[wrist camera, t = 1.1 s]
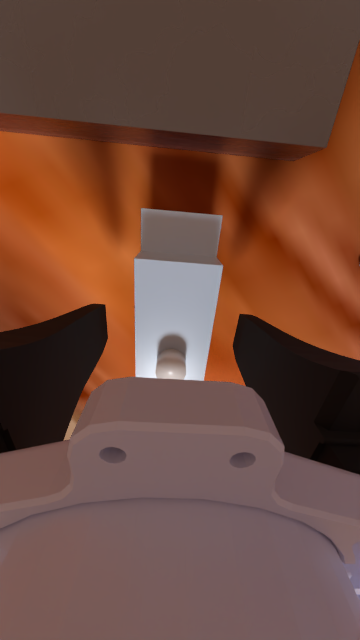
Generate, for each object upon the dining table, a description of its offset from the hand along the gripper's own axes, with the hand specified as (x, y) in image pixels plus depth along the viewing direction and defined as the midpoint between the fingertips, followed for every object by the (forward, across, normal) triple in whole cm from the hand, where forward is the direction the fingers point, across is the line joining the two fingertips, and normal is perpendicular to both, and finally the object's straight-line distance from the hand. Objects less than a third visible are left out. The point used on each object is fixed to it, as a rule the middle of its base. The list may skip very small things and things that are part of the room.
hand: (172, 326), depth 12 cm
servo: (+4, 0, 0) cm, 5 cm away
